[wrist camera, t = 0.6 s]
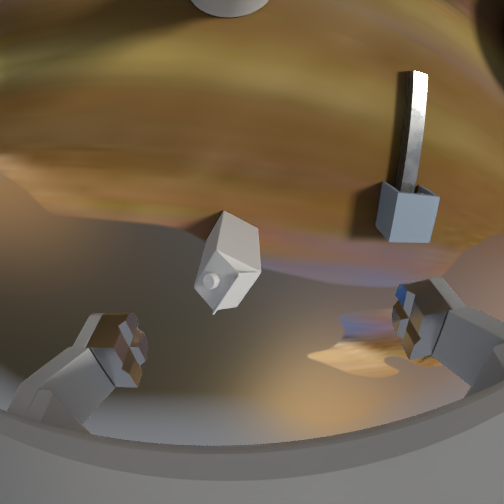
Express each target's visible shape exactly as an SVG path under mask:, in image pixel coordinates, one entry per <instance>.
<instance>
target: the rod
mask: <svg viewBox="0 0 504 504" xmlns="http://www.w3.org/2000/svg"><path fill="white" fill-rule="evenodd" d="M427 84H428V75H427V74H424V73H421V72H417V71H407V81H406V97H405V110H404V121H403V130H402V139H401V147H400V154H399V161H398V168H397V174H396V181H395V186H394V188H395V189H397V190H398V191H400V192H408V193H414V189H415V184H416V179H417V173H418V167H419V160H420V154H421V147H422V139H423V131H424V122H425V112H426V100H427Z"/></svg>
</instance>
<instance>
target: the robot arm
mask: <svg viewBox="0 0 504 504" xmlns="http://www.w3.org/2000/svg"><path fill="white" fill-rule="evenodd" d="M191 1H192V3H193V4H194V5H195V6H196V7H197V8H199V9H200V10H202V11H204V12H205V13H208V14H210V15H214V16H218V17H239V16H243V15H247V14H250V13H252V12H254V11H256V10H258V9H260V8H261V7H263V6H264V5H265V4H266V3H267V2H268V1H269V0H191ZM396 297H397V299H398V301H397V303H396V304H395V305H394V306H393V311H392V323H393V327H394V330H395V332H396V334H397V335H398V336H400V337H401V338H403V342H402V346H403V348H404V350H405V353H406V355H407V357H408V359H409V360H412V359H416V358H421V357H425V356H429V355H432V356H433V357H434V358H435V359H437V360H438V361H439V362H441V363H442V364H443V365H444V366H446V367H447V368H448V369H450V370H451V371H452V372H453V373H455V374H456V375H457V376H459V377H460V378H461V379H462V380H464V381H465V382H466V383H468V384H469V385H470V386H471V387H470V389H469V390H468V392H467V394H466V395H465V397H464V398H463V399H461V400H458V401H456V402H453V403H450V404H448V405H445V406H442V407H440V408H437V409H434V410H431V411H428V412H425V413H422V414H419V415H416V416H412V417H409V418H406V419H402V420H399V421H395V422H391V423H388V424H384V425H380V426H376V427H372V428H367V429H363V430H358V431H354V432H349V433H343V434H338V435H333V436H327V437H320V438H314V439H307V440H299V441H291V442H281V443H269V444H255V445H234V446H195V445H173V444H159V443H148V442H139V441H130V440H122V439H116V438H110V437H104V436H98V435H92V434H91V433H90V432H89V431H88V430H87V429H86V428H85V427H84V426H83V425H82V423H84V421H85V420H86V419H87V418H88V417H89V416H90V415H91V414H92V413H93V412H94V410H95V409H96V408H97V407H98V406H99V405H100V404H101V403H102V402H103V401H104V399H105V398H106V397H107V396H108V395H109V394H110V393H111V392H112V391H113V389H114V388H115V387H138V384H139V381H140V377H141V374H142V370H141V368H140V365H141V364H142V363H143V362H145V361H146V357H147V346H148V345H147V341H146V338H145V335H144V333H143V332H142V331H140V330H139V329H138V328H137V326H138V323H139V322H138V320H137V318H136V316H135V314H133V313H105V314H104V313H103V314H102V313H98V314H92V315H90V316H89V318H88V320H87V322H86V323H85V325H84V327H83V329H82V330H81V332H80V334H79V336H78V338H77V339H76V341H75V343H74V345H73V347H68V348H67V349H66V350H64V351H63V352H62V353H60V354H59V355H58V356H56V357H55V358H54V359H52V360H51V361H50V362H48V363H47V364H46V365H44V366H43V367H42V368H40V369H39V370H38V371H36V372H35V373H34V374H33V375H31V376H30V377H29V378H27V379H26V380H25V381H23V382H22V383H21V384H20V386H19V388H18V390H17V392H16V394H15V396H14V398H13V400H12V402H11V404H10V406H9V408H8V410H7V411H5V410H2V409H0V504H504V323H503V322H501V321H500V320H498V319H495V318H494V317H492V316H489V315H488V314H486V313H483V312H482V311H479V310H477V309H475V308H473V307H471V306H465V305H464V304H463V303H462V301H461V300H460V299H459V297H458V296H457V295H456V294H455V292H454V291H453V290H452V289H451V288H450V286H449V285H448V284H447V283H446V281H445V280H444V279H443V278H442V277H439V276H438V277H434V278H429V279H426V280H421V281H415V282H410V283H404V284H399V285H398V287H397V290H396Z"/></svg>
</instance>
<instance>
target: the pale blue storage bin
mask: <svg viewBox="0 0 504 504" xmlns="http://www.w3.org/2000/svg"><path fill="white" fill-rule="evenodd" d="M439 199H440V197H439V196H438V195H436V194H435V193H433V192H431V191H430V190H428V189H427V188H425V187H424V186H422V185H419V186H418V192H417V193H408V192H400V191H398V190H397V189H395V188H394V187H393V186H391V185H390V184H388V183H387V182H382V187H381V193H380V200H379V206H378V213H377V218H376V224H375V227H376V228H377V229H378V230H379V231H380V232H381V234H382V235H383V236H384V237H385V238H386V239H387V241H388V242H421V243H429V242H430V238H431V234H432V230H433V226H434V222H435V218H436V214H437V209H438V204H439Z"/></svg>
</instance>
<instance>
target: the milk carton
mask: <svg viewBox="0 0 504 504" xmlns="http://www.w3.org/2000/svg"><path fill="white" fill-rule="evenodd" d="M260 273H261V263H260V249H259V236H258V228H256V227H254V226H253V225H251V224H249V223H247V222H245V221H243V220H241V219H239V218H238V217H236V216H234V215H232V214H230V213H228V212H226V211H223V212H222V214H221V216H220V217H219V219H218V221H217V222H216V224H215V226H214V228H213V229H212V231H211V233H210V235H209V236H208V238H207V240H206V243H205V247H204V251H203V255H202V259H201V262H200V266H199V270H198V273H197V277H196V281H195V285H194V288H195V289H196V290H197V292H198V293H199V294H200V295H201V296H202V297H203V299H204V300H205V301H206V302H207V303H208V304H209V306H210V307H211V308H212V309H213V315H214V314H215V313H216V311H217V310H219V309H226V308H232V307H237V306H238V304H239V303H240V301H241V300H242V299H243V297H244V296H245V295H246V293H247V292H248V290H249V289H250V287H251V286H252V285H253V283H254V282H255V280H256V279H257V278H258V276H259V275H260Z"/></svg>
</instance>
